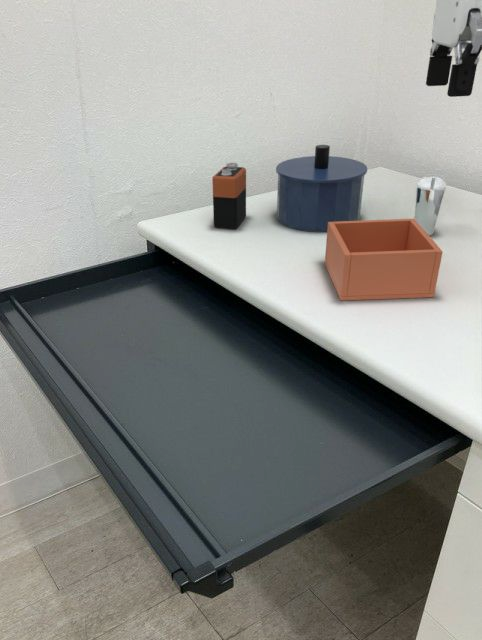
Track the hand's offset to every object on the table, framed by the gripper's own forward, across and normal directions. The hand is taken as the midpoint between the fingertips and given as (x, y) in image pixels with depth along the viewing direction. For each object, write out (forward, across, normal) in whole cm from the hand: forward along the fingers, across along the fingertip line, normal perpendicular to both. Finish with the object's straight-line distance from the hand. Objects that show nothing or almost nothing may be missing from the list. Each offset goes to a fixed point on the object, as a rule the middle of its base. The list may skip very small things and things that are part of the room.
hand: (447, 90), depth 87 cm
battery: (+22, +9, +32) cm, 40 cm away
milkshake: (+22, 0, 0) cm, 22 cm away
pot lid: (+13, +10, +16) cm, 23 cm away
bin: (+22, -17, +12) cm, 30 cm away
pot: (+22, +10, +16) cm, 29 cm away
